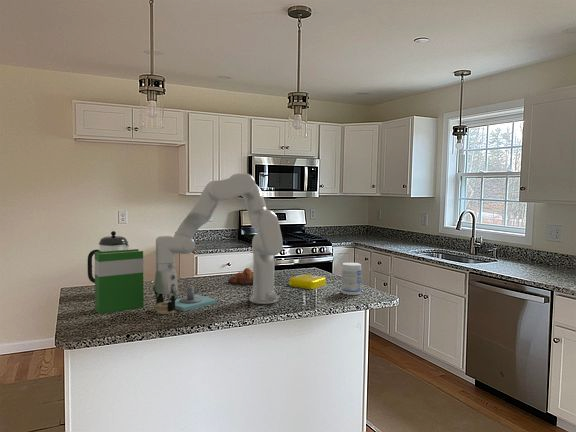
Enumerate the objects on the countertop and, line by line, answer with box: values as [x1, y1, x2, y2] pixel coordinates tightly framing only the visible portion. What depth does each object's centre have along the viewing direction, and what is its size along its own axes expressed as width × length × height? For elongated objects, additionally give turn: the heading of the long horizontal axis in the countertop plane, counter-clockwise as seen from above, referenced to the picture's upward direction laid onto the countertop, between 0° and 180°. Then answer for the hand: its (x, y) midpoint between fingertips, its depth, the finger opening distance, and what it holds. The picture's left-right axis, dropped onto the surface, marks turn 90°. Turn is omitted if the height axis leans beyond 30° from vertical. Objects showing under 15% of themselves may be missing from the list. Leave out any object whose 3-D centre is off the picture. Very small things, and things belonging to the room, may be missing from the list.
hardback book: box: [94, 248, 145, 315], centre depth 185 cm, size 18×7×24 cm, turn 125°
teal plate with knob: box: [164, 286, 218, 312], centre depth 194 cm, size 14×18×8 cm
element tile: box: [289, 273, 327, 290], centre depth 236 cm, size 15×15×5 cm
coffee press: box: [87, 230, 131, 284], centre depth 208 cm, size 17×16×30 cm
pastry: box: [227, 267, 253, 286], centre depth 239 cm, size 17×15×8 cm
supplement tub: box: [341, 262, 362, 296], centre depth 218 cm, size 10×10×15 cm
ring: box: [156, 301, 176, 315], centre depth 182 cm, size 7×7×3 cm
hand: (165, 308), depth 182 cm, fingers closed on ring, 7 cm apart
